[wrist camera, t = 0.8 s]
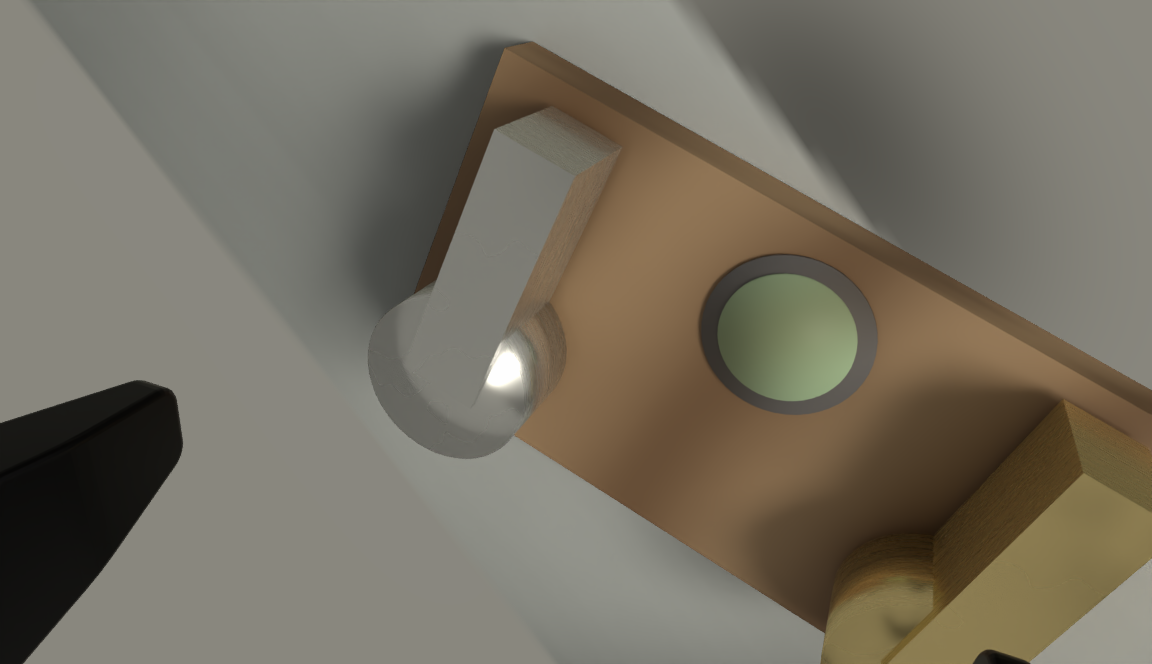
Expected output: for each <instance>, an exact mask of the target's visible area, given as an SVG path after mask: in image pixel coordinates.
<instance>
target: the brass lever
mask: <svg viewBox="0 0 1152 664" xmlns="http://www.w3.org/2000/svg"><path fill="white" fill-rule="evenodd" d="M1151 558H1152V456H1151V453H1150V451H1149V448H1148V447H1146V446H1145V445H1143V444H1141V443H1139V442H1138V441H1136V440H1134V439H1132V438H1131V437H1129V436H1127V435H1125V434H1124V433H1122V432H1120V431H1118V430H1117V429H1115V428H1113V427H1111V426H1110V425H1108V424H1106V423H1104V422H1103V421H1101V420H1099V419H1098V418H1096V417H1094V416H1092V415H1091V414H1089V413H1087V412H1085V411H1084V410H1082V409H1080V408H1078V407H1077V406H1075V405H1073V404H1071V403H1070V402H1068V401H1066V400H1064V399H1062V400H1061V401H1060V403H1059V404H1058V405H1057V406H1056V407H1055V408H1054V409H1053V410H1052V411H1051V412H1050V413H1049V414H1048V415H1047V416H1046V417H1045V418H1044V419H1043V420H1042V422H1041V423H1040V424H1039V425H1038V426H1037V427H1036V428H1035V429H1034V430H1033V431H1032V432H1031V433H1030V434H1029V435H1028V436H1027V437H1026V438H1025V439H1024V441H1023V442H1022V443H1021V444H1020V445H1019V446H1018V447H1017V448H1016V449H1015V450H1014V451H1013V452H1012V453H1011V454H1010V455H1009V456H1008V457H1007V459H1006V460H1005V461H1004V462H1003V463H1002V464H1001V465H1000V466H999V467H998V468H997V469H996V470H995V471H994V472H993V473H992V474H991V475H990V476H989V478H988V479H987V480H986V481H985V482H984V483H983V484H982V485H981V486H980V487H979V488H978V489H977V490H976V491H975V492H974V493H973V494H972V495H971V497H970V498H969V499H968V500H967V501H966V502H965V503H964V504H963V505H962V506H961V507H960V508H959V509H958V510H957V511H956V512H955V513H954V515H953V516H952V517H951V518H950V519H949V520H948V521H947V522H946V523H945V524H944V525H943V526H942V527H941V528H940V529H939V530H938V531H937V532H936V534H935V535H929V534H918V533H903V534H894V535H888V536H884V537H880V538H877V539H875V540H872V541H869V542H867V543H865V544H864V545H862V546H860V547H859V548H857V549H856V550H854V551H853V552H852V553H851V554H850V555H849V556H848V557H847V558H846V559H845V560H844V561H843V563H842V564H841V565H840V567H839V569H838V571H837V573H836V576H835V580H834V584H833V590H832V596H831V602H830V608H829V614H828V620H827V626H826V632H825V638H824V644H823V650H822V656H821V664H973V662H974V661H975V659H976V657H977V656H978V655H979V654H980V653H981V652H982V651H984V650H987V649H990V650H995V651H998V652H1001V653H1005V654H1008V655H1011V656H1014V657H1017V658H1020V659H1023V660H1026V661H1027V662H1030V661H1031V660H1032V659H1033V658H1035V657H1036V656H1037V655H1038V654H1039V653H1040V652H1042V651H1043V650H1044V649H1045V648H1046V647H1048V646H1049V645H1050V644H1051V643H1052V642H1053V641H1055V640H1056V639H1057V638H1058V637H1059V636H1060V635H1062V634H1063V633H1064V632H1065V631H1066V630H1068V629H1069V628H1070V627H1071V626H1072V625H1073V624H1075V623H1076V622H1077V621H1078V620H1079V619H1081V618H1082V617H1083V616H1084V615H1085V614H1086V613H1088V612H1089V611H1090V610H1091V609H1092V608H1093V607H1095V606H1096V605H1097V604H1098V603H1099V602H1101V601H1102V600H1103V599H1104V598H1105V597H1106V596H1108V595H1109V594H1110V593H1111V592H1112V591H1114V590H1115V589H1116V588H1117V587H1118V586H1119V585H1121V584H1122V583H1123V582H1124V581H1125V580H1127V579H1128V578H1129V577H1130V576H1131V575H1132V574H1134V573H1135V572H1136V571H1137V570H1138V569H1139V568H1141V567H1142V566H1143V565H1144V564H1145V563H1147V562H1148V561H1149V560H1150V559H1151Z"/></svg>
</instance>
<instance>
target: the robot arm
mask: <svg viewBox="0 0 1152 664" xmlns="http://www.w3.org/2000/svg"><path fill="white" fill-rule="evenodd" d="M182 448H183V439H182V432H181V425H180V418H179V412H178V405H177V399H176V396H175V395H174V393H173V392H172V390H170V389H168V388H165V387H162V386H159V385H156V384H153V383H150V382H146V381H141V380H136V381H131V382H128V383H125V384H122V385H119V386H115V387H112V388H109V389H106V390H103V391H100V392H96V393H93V394H90V395H87V396H84V397H81V398H78V399H75V400H71V401H68V402H65V403H62V404H59V405H56V406H53V407H49V408H47V409H43V410H40V411H37V412H34V413H30V414H28V415H24V416H21V417H18V418H15V419H12V420H9V421H5V422H3V423H0V664H23V663H24V662H25V661H26V660H27V659H28V657H29V656H30V655H31V654H32V653H33V652H34V650H35V649H36V648H37V647H38V646H39V644H40V643H41V642H42V641H43V640H44V639H45V637H46V636H47V635H48V634H49V633H50V632H51V630H52V629H53V628H54V627H55V626H56V625H57V623H58V622H59V621H60V620H61V619H62V618H63V616H64V615H65V614H66V613H67V612H68V610H69V609H70V608H71V607H72V606H73V604H75V602H76V601H77V600H78V599H79V598H80V596H81V595H82V594H83V593H84V592H85V591H86V589H87V588H88V587H89V586H90V585H91V583H92V582H93V581H94V579H95V578H96V577H97V576H98V575H99V573H100V572H101V571H102V570H103V568H104V567H105V566H106V564H107V563H108V562H109V560H110V559H111V557H112V556H113V555H114V553H115V552H116V551H117V549H118V548H119V546H120V545H121V543H122V542H123V541H124V539H125V538H126V536H127V535H128V533H129V532H130V530H131V529H132V527H133V526H134V525H135V523H136V522H137V520H138V519H139V517H140V516H141V515H142V513H143V512H144V510H145V509H146V507H147V506H148V504H149V503H150V502H151V500H152V499H153V497H154V496H155V494H156V493H157V492H158V490H159V489H160V487H161V486H162V484H163V483H164V481H165V480H166V479H167V477H168V476H169V474H170V473H171V472H172V470H173V468H174V467H175V466H176V464H177V462H178V460H179V458H180V456H181V452H182ZM973 664H1030V663H1029V662H1027V661H1026V660H1023V659H1020V658H1017V657H1014V656H1011V655H1008V654H1005V653H1001V652H998V651H995V650H990V649H987V650H984V651H982V652H981V653H980V654H979V655H978V656H977V657H976V659H975V661H974V662H973Z"/></svg>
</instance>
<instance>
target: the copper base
mask: <svg viewBox="0 0 1152 664" xmlns="http://www.w3.org/2000/svg"><path fill="white" fill-rule="evenodd" d="M551 106H553V107H555V108H557V109H558V110H560V111H562V112H564V113H565V114H567V115H569V116H571V117H572V118H574V119H576V120H578V121H579V122H581V123H583V124H585V125H586V126H588V127H590V128H592V129H593V130H595V131H597V132H599V133H600V134H602V135H604V136H605V137H607V138H609V139H611V140H612V141H614V142H616V143H618V144H619V145H621V146H623V148H622V150H621V152H620V154H619V156H618V158H617V161H616V163H615V165H614V167H613V169H612V171H611V173H610V175H609V177H608V180H607V182H606V184H605V186H604V188H603V190H602V192H601V194H600V196H599V198H598V201H597V203H596V205H595V207H594V209H593V211H592V213H591V215H590V217H589V219H588V222H587V224H586V226H585V228H584V230H583V232H582V234H581V236H580V238H579V240H578V243H577V245H576V247H575V249H574V251H573V253H572V255H571V257H570V259H569V262H568V264H567V266H566V268H565V270H564V272H563V274H562V276H561V278H560V280H559V283H558V285H557V287H556V289H555V291H554V293H553V295H552V297H551V299H550V303H551V304H552V306H553V307H554V309H555V311H556V313H557V314H558V317H559V319H560V321H561V324H562V327H563V330H564V333H565V339H566V348H567V356H566V364H565V368H564V372H563V374H562V377H561V379H560V381H559V383H558V384H557V386H556V388H555V389H554V390H553V391H552V392H551V393H550V395H549V396H548V397H547V398H546V399H545V400H544V401H543V403H542V404H541V405H540V406H539V407H538V408H537V409H536V410H535V412H534V413H533V414H532V415H531V416H530V417H529V418H528V420H527V421H526V422H525V423H524V424H523V425H522V426H521V428H520V429H519V430H518V431H517V432H516V433H515V434H514V435H515V436H516V437H518V438H520V439H521V440H523V441H524V442H526V443H527V444H529V445H531V446H532V447H534V448H535V449H537V450H538V451H540V452H542V453H543V454H545V455H546V456H548V457H549V458H551V459H552V460H554V461H556V462H557V463H559V464H560V465H562V466H563V467H565V468H567V469H568V470H570V471H571V472H573V473H574V474H576V475H578V476H579V477H581V478H582V479H584V480H585V481H587V482H589V483H590V484H592V485H593V486H595V487H596V488H598V489H600V490H601V491H603V492H604V493H606V494H607V495H609V496H610V497H612V498H614V499H615V500H617V501H618V502H620V503H621V504H623V505H625V506H626V507H628V508H629V509H631V510H632V511H634V512H636V513H637V514H639V515H640V516H642V517H643V518H645V519H647V520H648V521H650V522H651V523H653V524H654V525H656V526H657V527H659V528H661V529H662V530H664V531H665V532H667V533H668V534H670V535H672V536H673V537H675V538H676V539H678V540H679V541H681V542H683V543H684V544H686V545H687V546H689V547H690V548H692V549H694V550H695V551H697V552H698V553H700V554H701V555H703V556H704V557H706V558H708V559H709V560H711V561H712V562H714V563H715V564H717V565H719V566H720V567H722V568H723V569H725V570H726V571H728V572H730V573H731V574H733V575H734V576H736V577H737V578H739V579H741V580H742V581H744V582H745V583H747V584H748V585H750V586H752V587H753V588H755V589H756V590H758V591H759V592H761V593H762V594H764V595H766V596H767V597H769V598H770V599H772V600H773V601H775V602H777V603H778V604H780V605H781V606H783V607H784V608H786V609H788V610H789V611H791V612H792V613H794V614H795V615H797V616H799V617H800V618H802V619H803V620H805V621H806V622H808V623H809V624H811V625H813V626H814V627H816V628H817V629H819V630H820V631H822V632H824V633H825V632H826V626H827V620H828V614H829V608H830V602H831V596H832V590H833V584H834V580H835V576H836V573H837V571H838V569H839V567H840V565H841V564H842V563H843V561H844V560H845V559H846V558H847V557H848V556H849V555H850V554H851V553H852V552H853V551H854V550H856V549H857V548H859V547H860V546H862V545H864V544H865V543H867V542H869V541H872V540H875V539H877V538H880V537H884V536H888V535H894V534H903V533H918V534H929V535H935V534H936V532H937V531H938V530H939V529H940V528H941V527H942V526H943V525H944V524H945V523H946V522H947V521H948V520H949V519H950V518H951V517H952V516H953V515H954V513H955V512H956V511H957V510H958V509H959V508H960V507H961V506H962V505H963V504H964V503H965V502H966V501H967V500H968V499H969V498H970V497H971V495H972V494H973V493H974V492H975V491H976V490H977V489H978V488H979V487H980V486H981V485H982V484H983V483H984V482H985V481H986V480H987V479H988V478H989V476H990V475H991V474H992V473H993V472H994V471H995V470H996V469H997V468H998V467H999V466H1000V465H1001V464H1002V463H1003V462H1004V461H1005V460H1006V459H1007V457H1008V456H1009V455H1010V454H1011V453H1012V452H1013V451H1014V450H1015V449H1016V448H1017V447H1018V446H1019V445H1020V444H1021V443H1022V442H1023V441H1024V439H1025V438H1026V437H1027V436H1028V435H1029V434H1030V433H1031V432H1032V431H1033V430H1034V429H1035V428H1036V427H1037V426H1038V425H1039V424H1040V423H1041V422H1042V420H1043V419H1044V418H1045V417H1046V416H1047V415H1048V414H1049V413H1050V412H1051V411H1052V410H1053V409H1054V408H1055V407H1056V406H1057V405H1058V404H1059V403H1060V401H1061V400H1062V399H1064V400H1066V401H1068V402H1070V403H1071V404H1073V405H1075V406H1077V407H1078V408H1080V409H1082V410H1084V411H1085V412H1087V413H1089V414H1091V415H1092V416H1094V417H1096V418H1098V419H1099V420H1101V421H1103V422H1104V423H1106V424H1108V425H1110V426H1111V427H1113V428H1115V429H1117V430H1118V431H1120V432H1122V433H1124V434H1125V435H1127V436H1129V437H1131V438H1132V439H1134V440H1136V441H1138V442H1139V443H1141V444H1143V445H1145V446H1146V447H1148V448H1149V451H1150V453H1151V456H1152V390H1150V389H1148V388H1147V387H1145V386H1143V385H1141V384H1139V383H1137V382H1136V381H1134V380H1132V379H1130V378H1129V377H1127V376H1125V375H1123V374H1122V373H1120V372H1118V371H1116V370H1115V369H1112V368H1111V367H1109V366H1107V365H1106V364H1104V363H1102V362H1100V361H1099V360H1097V359H1095V358H1093V357H1091V356H1090V355H1088V354H1086V353H1084V352H1083V351H1081V350H1079V349H1077V348H1075V347H1074V346H1072V345H1070V344H1068V343H1067V342H1065V341H1063V340H1061V339H1060V338H1058V337H1056V336H1054V335H1052V334H1051V333H1049V332H1047V331H1045V330H1043V329H1041V328H1040V327H1038V326H1036V325H1035V324H1033V323H1031V322H1029V321H1028V320H1026V319H1024V318H1022V317H1020V316H1019V315H1017V314H1015V313H1013V312H1011V311H1010V310H1008V309H1006V308H1004V307H1002V306H1001V305H999V304H997V303H995V302H994V301H992V300H990V299H988V298H987V297H985V296H983V295H981V294H980V293H978V292H976V291H974V290H972V289H971V288H969V287H967V286H965V285H964V284H962V283H960V282H958V281H957V280H955V279H953V278H951V277H950V276H947V275H946V274H944V273H942V272H941V271H939V270H937V269H935V268H934V267H932V266H930V265H928V264H926V263H924V262H923V261H921V260H919V259H918V258H916V257H914V256H912V255H910V254H909V253H907V252H905V251H903V250H902V249H900V248H898V247H896V246H894V245H893V244H891V243H889V242H887V241H886V240H884V239H882V238H880V237H879V236H877V235H875V234H873V233H871V232H870V231H868V230H866V229H864V228H863V227H861V226H859V225H857V224H855V223H854V222H852V221H850V220H848V219H847V218H845V217H843V216H841V215H839V214H838V213H836V212H834V211H832V210H831V209H829V208H827V207H825V206H823V205H822V204H820V203H818V202H816V201H815V200H813V199H811V198H809V197H808V196H806V195H804V194H802V193H800V192H799V191H797V190H795V189H793V188H792V187H790V186H788V185H786V184H784V183H783V182H781V181H779V180H777V179H776V178H774V177H772V176H770V175H768V174H767V173H765V172H763V171H761V170H760V169H758V168H756V167H754V166H752V165H751V164H749V163H747V162H745V161H744V160H742V159H740V158H738V157H737V156H735V155H733V154H731V153H729V152H728V151H726V150H724V149H722V148H721V147H719V146H717V145H715V144H713V143H712V142H710V141H708V140H706V139H705V138H703V137H701V136H699V135H697V134H696V133H694V132H692V131H690V130H689V129H687V128H685V127H683V126H681V125H680V124H678V123H676V122H674V121H673V120H671V119H669V118H667V117H666V116H664V115H662V114H660V113H658V112H657V111H655V110H653V109H651V108H650V107H648V106H646V105H644V104H642V103H641V102H639V101H637V100H635V99H634V98H632V97H630V96H628V95H626V94H625V93H623V92H621V91H619V90H618V89H616V88H614V87H612V86H610V85H609V84H607V83H605V82H603V81H602V80H600V79H598V78H596V77H595V76H593V75H591V74H589V73H587V72H586V71H584V70H582V69H580V68H579V67H577V66H575V65H573V64H571V63H570V62H568V61H566V60H564V59H563V58H561V57H559V56H557V55H555V54H554V53H552V52H550V51H548V50H547V49H545V48H543V47H541V46H539V45H538V44H536V43H534V42H529V43H524V44H520V45H515V46H511V47H506V48H504V51H503V53H502V56H501V59H500V62H499V64H498V67H497V70H496V72H495V75H494V78H493V81H492V83H491V86H490V89H489V91H488V94H487V97H486V100H485V102H484V105H483V108H482V110H481V113H480V116H479V119H478V121H477V124H476V127H475V129H474V132H473V135H472V138H471V140H470V143H469V146H468V148H467V151H466V154H465V157H464V159H463V162H462V165H461V167H460V170H459V173H458V176H457V178H456V181H455V184H454V186H453V189H452V192H451V195H450V197H449V200H448V203H447V205H446V208H445V211H444V214H443V216H442V219H441V222H440V224H439V227H438V230H437V233H436V235H435V238H434V241H433V243H432V246H431V249H430V252H429V254H428V257H427V260H426V263H425V265H424V268H423V271H422V273H421V276H420V279H419V282H418V284H417V287H416V290H415V292H414V294H415V293H417V292H418V291H420V290H421V289H423V288H424V287H426V286H427V285H429V284H430V283H432V282H433V281H435V280H437V278H438V275H439V273H440V270H441V267H442V265H443V262H444V259H445V257H446V254H447V252H448V249H449V246H450V244H451V241H452V238H453V236H454V233H455V231H456V228H457V225H458V223H459V220H460V218H461V215H462V212H463V210H464V207H465V204H466V202H467V199H468V197H469V194H470V191H471V189H472V186H473V183H474V181H475V178H476V176H477V173H478V170H479V168H480V165H481V163H482V160H483V157H484V155H485V152H486V149H487V147H488V144H489V142H490V139H491V136H492V134H493V131H494V129H496V128H498V127H501V126H503V125H506V124H508V123H511V122H513V121H516V120H518V119H521V118H523V117H526V116H528V115H531V114H533V113H536V112H538V111H541V110H543V109H546V108H548V107H551Z"/></svg>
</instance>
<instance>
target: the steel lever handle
mask: <svg viewBox="0 0 1152 664" xmlns="http://www.w3.org/2000/svg"><path fill="white" fill-rule="evenodd" d="M622 148H623V146H621V145H619V144H618V143H616V142H614V141H612V140H611V139H609V138H607V137H605V136H604V135H602V134H600V133H599V132H597V131H595V130H593V129H592V128H590V127H588V126H586V125H585V124H583V123H581V122H579V121H578V120H576V119H574V118H572V117H571V116H569V115H567V114H565V113H564V112H562V111H560V110H558V109H557V108H555V107H553V106H551V107H548V108H546V109H543V110H541V111H538V112H536V113H533V114H531V115H528V116H526V117H523V118H521V119H518V120H516V121H513V122H511V123H508V124H506V125H503V126H501V127H498V128H496V129H494V131H493V134H492V136H491V139H490V142H489V144H488V147H487V149H486V152H485V155H484V157H483V160H482V163H481V165H480V168H479V170H478V173H477V176H476V178H475V181H474V183H473V186H472V189H471V191H470V194H469V197H468V199H467V202H466V204H465V207H464V210H463V212H462V215H461V218H460V220H459V223H458V225H457V228H456V231H455V233H454V236H453V238H452V241H451V244H450V246H449V249H448V252H447V254H446V257H445V259H444V262H443V265H442V267H441V270H440V273H439V275H438V278H437V280H435V281H433V282H432V283H430V284H429V285H427V286H426V287H424V288H423V289H421V290H420V291H418V292H417V293H415V294H414V295H412V296H411V297H409V298H407V299H406V300H404V301H403V302H401V303H400V304H398V305H397V306H395V307H394V308H392V309H391V310H390V311H388V312H387V313H386V314H385V315H384V316H383V317H382V318H381V319H380V321H379V322H378V324H377V325H376V327H375V329H374V331H373V334H372V336H371V340H370V343H369V350H368V367H369V374H370V378H371V382H372V385H373V388H374V391H375V393H376V395H377V397H378V399H379V401H380V403H381V405H382V407H383V408H384V410H385V411H386V413H387V414H388V416H389V417H390V418H391V420H392V421H393V422H394V423H395V424H396V425H397V426H398V427H399V428H400V430H402V431H403V432H404V433H405V434H406V435H407V436H408V437H410V438H411V439H412V440H414V441H415V442H417V443H418V444H420V445H421V446H423V447H425V448H427V449H429V450H431V451H433V452H435V453H438V454H441V455H444V456H448V457H453V458H462V459H469V458H478V457H483V456H486V455H489V454H491V453H493V452H495V451H497V450H499V449H500V448H501V447H503V446H504V445H505V444H506V443H507V442H508V441H509V440H510V439H511V438H512V437H513V436H514V434H515V433H516V432H517V431H518V430H519V429H520V428H521V426H522V425H523V424H524V423H525V422H526V421H527V420H528V418H529V417H530V416H531V415H532V414H533V413H534V412H535V410H536V409H537V408H538V407H539V406H540V405H541V404H542V403H543V401H544V400H545V399H546V398H547V397H548V396H549V395H550V393H551V392H552V391H553V390H554V389H555V388H556V386H557V384H558V383H559V381H560V379H561V377H562V374H563V372H564V368H565V364H566V356H567V348H566V339H565V333H564V330H563V327H562V324H561V321H560V319H559V317H558V314H557V313H556V311H555V309H554V307H553V306H552V304H551V303H550V299H551V297H552V295H553V293H554V291H555V289H556V287H557V285H558V283H559V280H560V278H561V276H562V274H563V272H564V270H565V268H566V266H567V264H568V262H569V259H570V257H571V255H572V253H573V251H574V249H575V247H576V245H577V243H578V240H579V238H580V236H581V234H582V232H583V230H584V228H585V226H586V224H587V222H588V219H589V217H590V215H591V213H592V211H593V209H594V207H595V205H596V203H597V201H598V198H599V196H600V194H601V192H602V190H603V188H604V186H605V184H606V182H607V180H608V177H609V175H610V173H611V171H612V169H613V167H614V165H615V163H616V161H617V158H618V156H619V154H620V152H621V150H622Z"/></svg>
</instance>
